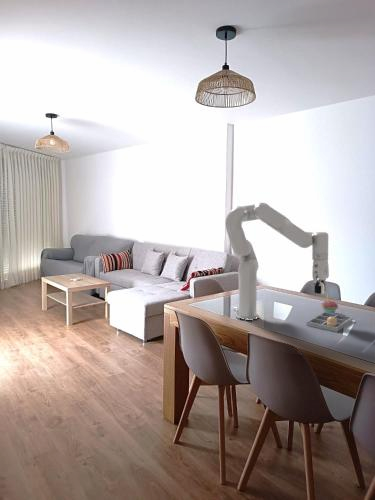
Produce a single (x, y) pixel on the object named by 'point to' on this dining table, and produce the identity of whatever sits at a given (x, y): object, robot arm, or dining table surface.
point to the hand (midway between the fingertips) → (319, 292)
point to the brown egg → (332, 321)
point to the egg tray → (322, 318)
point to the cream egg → (322, 288)
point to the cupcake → (329, 306)
